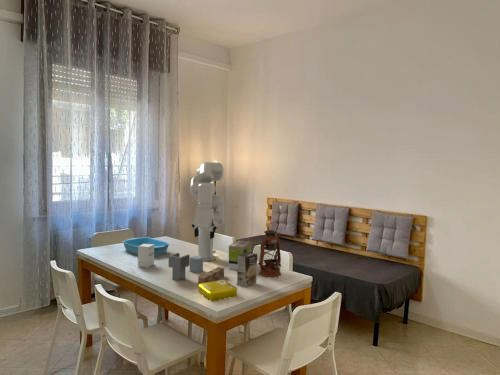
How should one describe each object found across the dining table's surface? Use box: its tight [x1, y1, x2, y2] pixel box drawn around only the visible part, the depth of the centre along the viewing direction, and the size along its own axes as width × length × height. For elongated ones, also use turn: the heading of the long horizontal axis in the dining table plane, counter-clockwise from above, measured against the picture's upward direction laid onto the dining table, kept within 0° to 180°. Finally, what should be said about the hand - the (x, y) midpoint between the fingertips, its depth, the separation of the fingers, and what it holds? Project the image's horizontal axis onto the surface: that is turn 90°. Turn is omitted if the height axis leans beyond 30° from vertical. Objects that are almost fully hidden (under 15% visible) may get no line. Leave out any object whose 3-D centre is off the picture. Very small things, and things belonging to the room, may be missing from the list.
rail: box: [197, 266, 225, 287], centre depth 200 cm, size 20×4×5 cm, turn 154°
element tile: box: [198, 279, 238, 302], centre depth 181 cm, size 15×15×5 cm
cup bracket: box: [168, 252, 191, 281], centre depth 201 cm, size 8×8×13 cm
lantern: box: [257, 222, 282, 279], centre depth 213 cm, size 17×13×30 cm
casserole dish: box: [122, 236, 170, 257], centre depth 257 cm, size 37×22×7 cm, turn 48°
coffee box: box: [236, 252, 258, 288], centre depth 196 cm, size 9×6×16 cm
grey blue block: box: [189, 255, 204, 274], centre depth 216 cm, size 5×6×8 cm
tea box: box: [228, 240, 252, 271], centre depth 227 cm, size 15×10×15 cm
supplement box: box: [137, 244, 155, 268], centre depth 224 cm, size 7×7×13 cm
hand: (204, 237), depth 201 cm, fingers open, 9 cm apart
